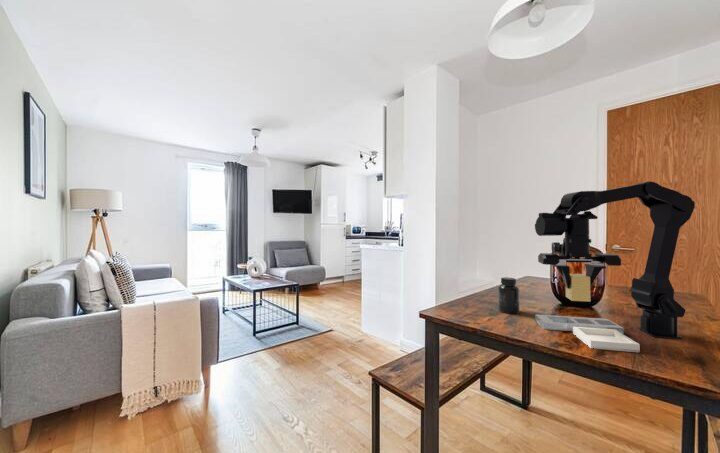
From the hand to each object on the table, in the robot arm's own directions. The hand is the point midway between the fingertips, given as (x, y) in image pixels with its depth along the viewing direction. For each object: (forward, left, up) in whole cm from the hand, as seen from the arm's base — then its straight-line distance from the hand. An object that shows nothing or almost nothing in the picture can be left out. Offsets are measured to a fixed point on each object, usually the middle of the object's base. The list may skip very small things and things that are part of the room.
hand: (577, 288), depth 84 cm
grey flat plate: (-1, -5, -13) cm, 14 cm away
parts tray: (-3, +6, -13) cm, 15 cm away
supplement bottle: (+15, -18, -13) cm, 26 cm away
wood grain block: (0, 0, -3) cm, 3 cm away
